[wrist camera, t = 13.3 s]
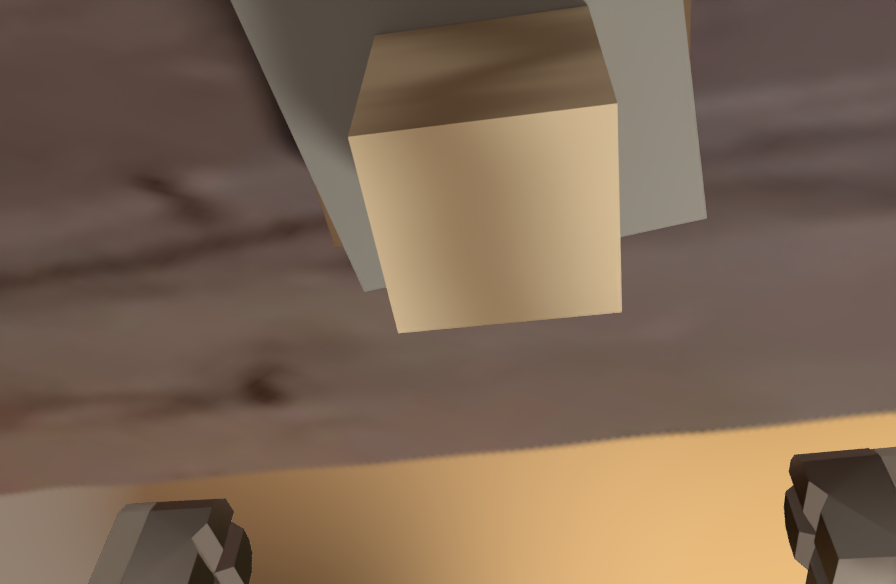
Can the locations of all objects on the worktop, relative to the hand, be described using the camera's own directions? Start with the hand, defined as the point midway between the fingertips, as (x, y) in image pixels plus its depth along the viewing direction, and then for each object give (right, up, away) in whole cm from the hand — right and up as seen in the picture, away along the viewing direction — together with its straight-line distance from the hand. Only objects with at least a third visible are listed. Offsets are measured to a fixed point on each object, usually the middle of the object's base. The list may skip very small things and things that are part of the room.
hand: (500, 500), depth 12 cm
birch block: (0, +7, +9) cm, 11 cm away
